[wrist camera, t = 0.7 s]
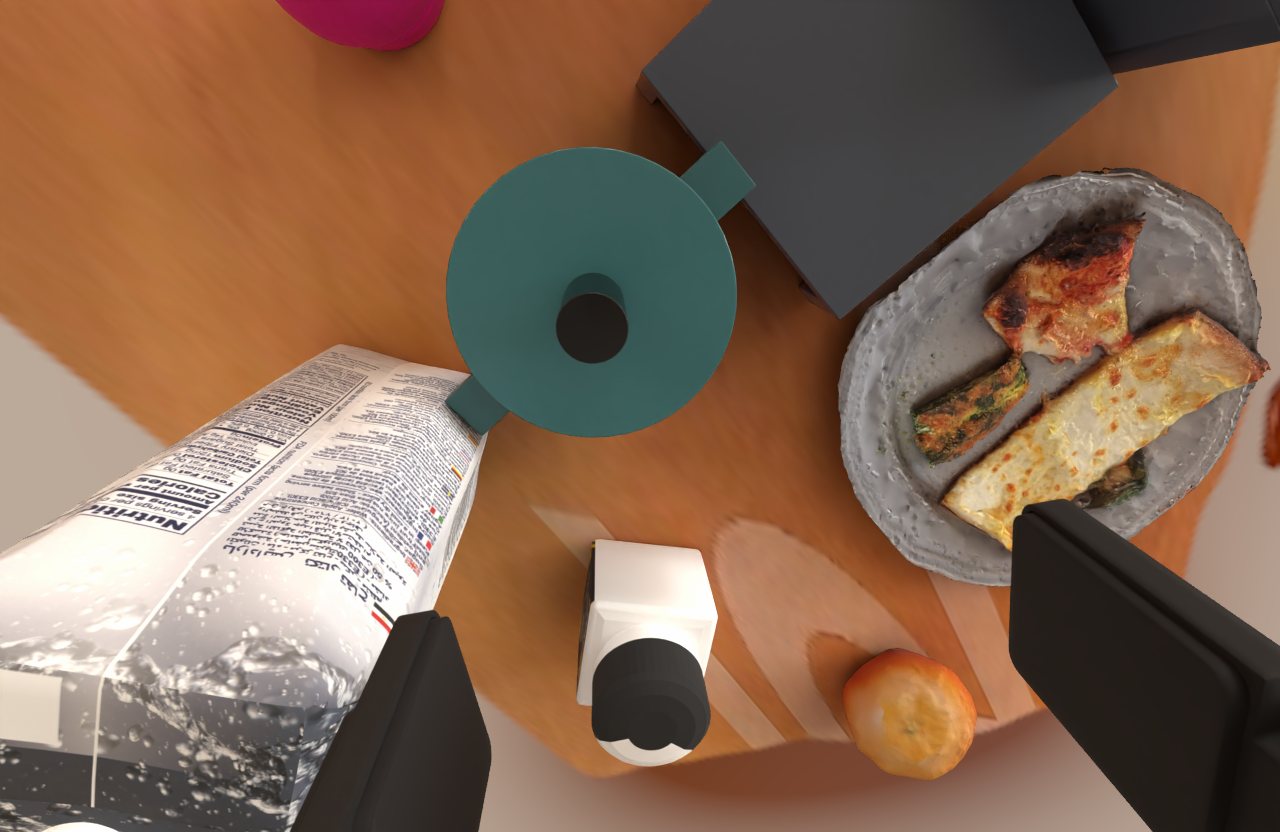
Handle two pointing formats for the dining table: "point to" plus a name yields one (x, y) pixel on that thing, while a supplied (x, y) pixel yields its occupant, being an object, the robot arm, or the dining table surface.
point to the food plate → (1051, 369)
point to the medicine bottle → (646, 650)
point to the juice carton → (228, 602)
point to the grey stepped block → (908, 107)
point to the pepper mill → (367, 20)
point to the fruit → (909, 714)
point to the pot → (721, 191)
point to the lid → (591, 292)
